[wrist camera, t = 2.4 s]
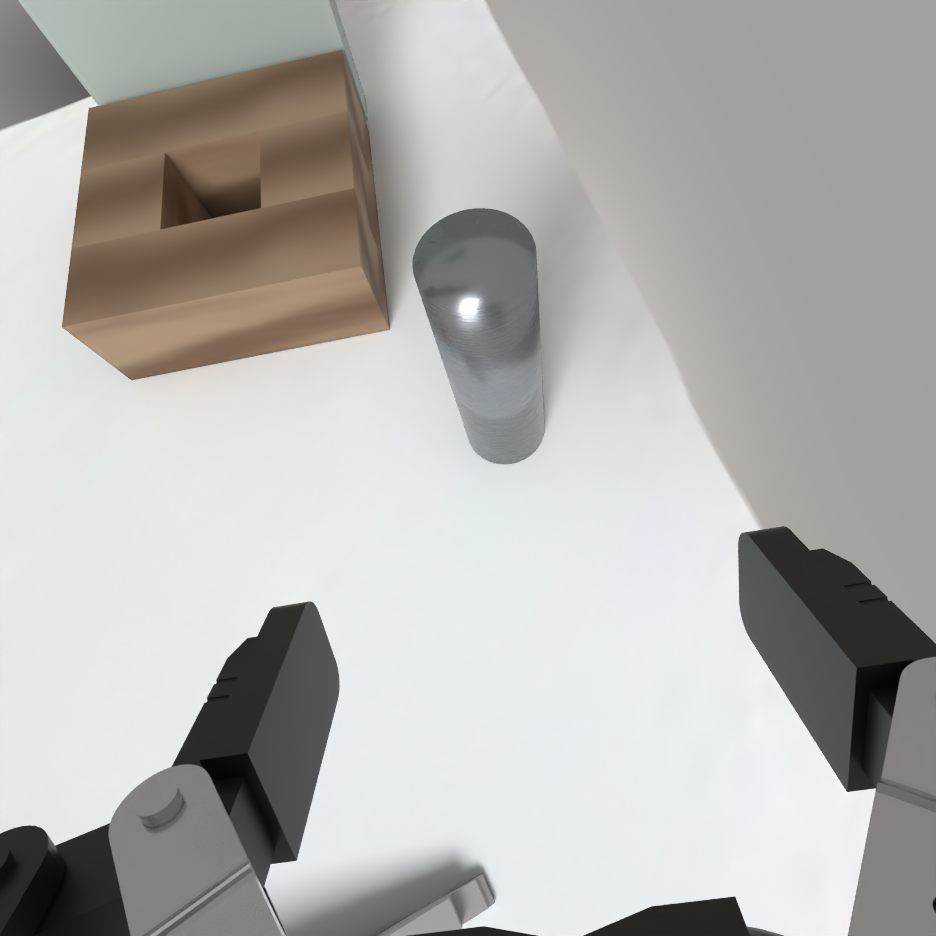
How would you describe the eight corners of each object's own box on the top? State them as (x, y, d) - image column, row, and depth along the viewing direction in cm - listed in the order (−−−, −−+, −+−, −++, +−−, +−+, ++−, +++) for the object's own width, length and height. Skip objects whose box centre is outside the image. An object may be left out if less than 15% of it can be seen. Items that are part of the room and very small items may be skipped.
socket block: (389, 329, 32) (360, 265, 27) (131, 380, 33) (62, 327, 28) (368, 131, 37) (341, 49, 32) (145, 180, 38) (88, 108, 34)
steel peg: (504, 479, 28) (470, 333, 17) (451, 429, 30) (387, 262, 18) (560, 427, 29) (562, 252, 18) (506, 379, 30) (476, 189, 19)
